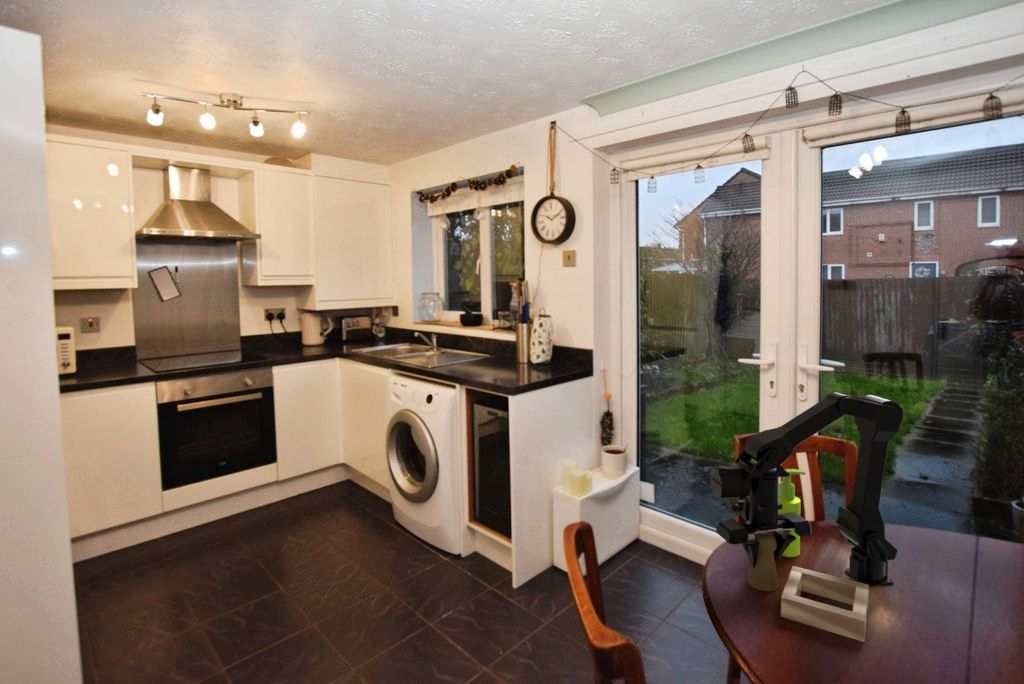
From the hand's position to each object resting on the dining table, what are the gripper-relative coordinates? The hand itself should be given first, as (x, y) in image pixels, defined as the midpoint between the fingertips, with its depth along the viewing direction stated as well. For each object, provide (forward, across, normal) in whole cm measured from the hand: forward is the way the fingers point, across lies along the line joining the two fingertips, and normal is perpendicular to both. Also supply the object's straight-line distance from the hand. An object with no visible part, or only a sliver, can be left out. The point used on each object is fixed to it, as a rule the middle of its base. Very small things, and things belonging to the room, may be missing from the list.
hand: (762, 565), depth 114 cm
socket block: (+4, -6, +11) cm, 13 cm away
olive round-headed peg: (+4, 0, 0) cm, 4 cm away
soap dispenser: (+4, -14, -11) cm, 18 cm away
